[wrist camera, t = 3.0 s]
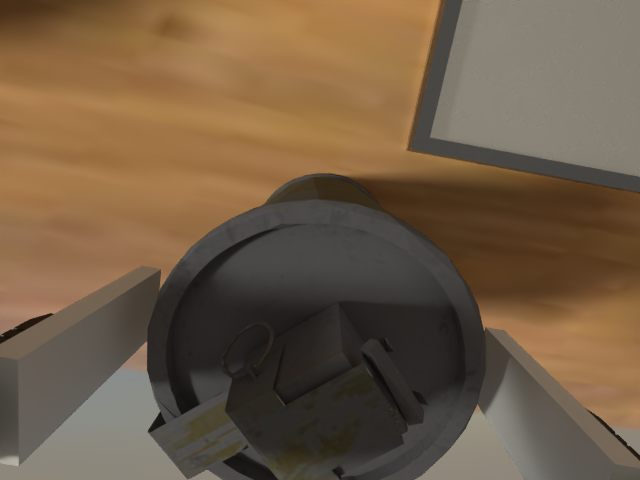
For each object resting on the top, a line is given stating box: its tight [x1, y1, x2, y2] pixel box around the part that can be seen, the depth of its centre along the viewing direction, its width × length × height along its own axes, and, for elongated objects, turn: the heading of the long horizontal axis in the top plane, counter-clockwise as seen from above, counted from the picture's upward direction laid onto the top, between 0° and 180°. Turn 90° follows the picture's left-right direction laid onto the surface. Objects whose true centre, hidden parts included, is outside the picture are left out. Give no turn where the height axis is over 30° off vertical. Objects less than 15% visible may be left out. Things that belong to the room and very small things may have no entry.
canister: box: [147, 174, 486, 480], centre depth 18 cm, size 11×10×20 cm
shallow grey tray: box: [406, 0, 640, 194], centre depth 23 cm, size 22×22×2 cm
